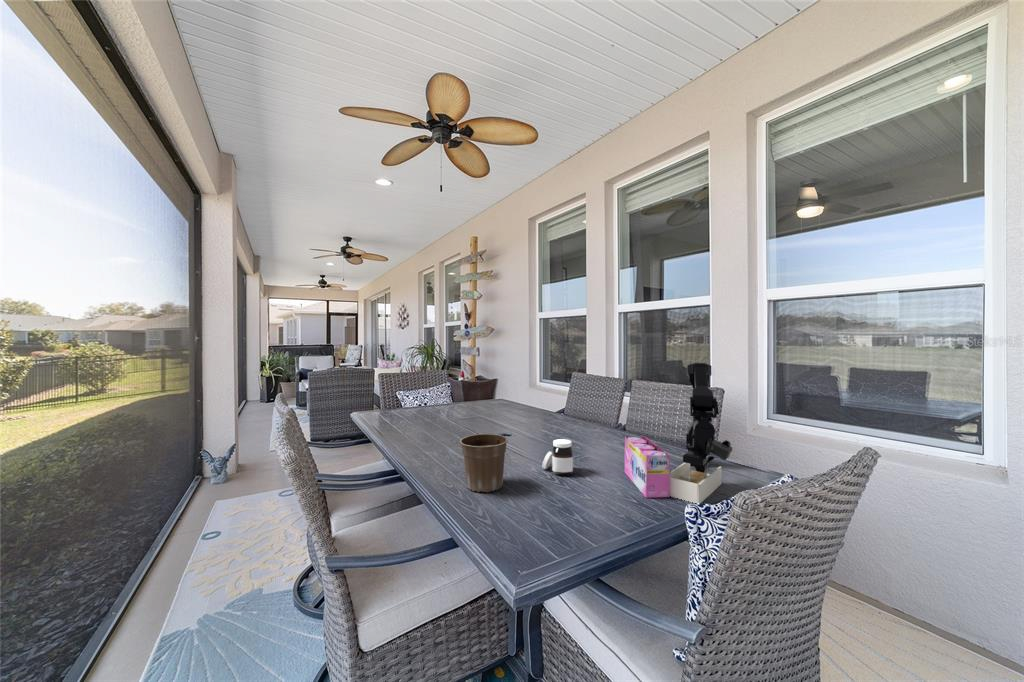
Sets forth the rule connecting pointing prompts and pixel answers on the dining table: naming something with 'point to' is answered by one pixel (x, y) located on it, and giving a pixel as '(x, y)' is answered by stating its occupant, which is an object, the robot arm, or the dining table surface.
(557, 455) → the spread jar
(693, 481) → the oak block
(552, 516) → the dining table surface
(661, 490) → the gum box
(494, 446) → the plant pot
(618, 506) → the dining table surface
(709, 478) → the channel
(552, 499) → the dining table surface
